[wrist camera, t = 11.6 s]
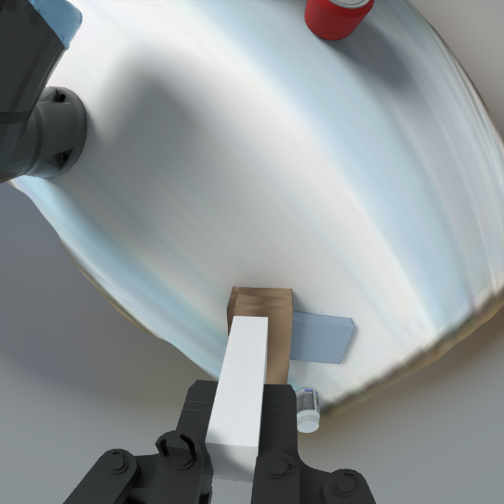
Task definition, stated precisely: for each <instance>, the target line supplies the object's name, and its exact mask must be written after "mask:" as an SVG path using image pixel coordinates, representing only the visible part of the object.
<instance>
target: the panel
mask: <svg viewBox="0 0 504 504" xmlns="http://www.w3.org/2000/svg"><path fill="white" fill-rule="evenodd" d="M353 329H354V325H353V322H352V319H351V318H343V317H335V316H326V315H318V314H311V313H303V312H296V311H293V318H292V331H291V344H290V355H289V359H294V360H303V361H313V362H323V363H335V364H340V362H341V360H342V357H343V355H344V352H345V350H346V347H347V345H348V342H349V340H350V337H351V335H352V332H353Z"/></svg>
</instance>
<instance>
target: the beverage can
mask: <svg viewBox="0 0 504 504" xmlns="http://www.w3.org/2000/svg"><path fill="white" fill-rule="evenodd" d="M373 3H374V0H307V5H306V10H305V22H306V24H307V26H308V28H309V29H310V30H311V31H312V32H313V33H314V34H316V35H317V36H319V37H321V38H324V39H327V40H340V39H343V38H345V37H347V36H348V35H349V34H350V33H351V32H352V31H353V30H354V29H355V28H356V27H357V25H358V24H359V23H360V22H361V21H362V20H363V18H364V17H365V16H366V15H367V13H368V12H369V11H370V10H371V8H372V6H373Z"/></svg>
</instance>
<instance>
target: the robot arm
mask: <svg viewBox="0 0 504 504" xmlns="http://www.w3.org/2000/svg"><path fill="white" fill-rule="evenodd" d="M81 24H82V13H81V12H80V10H79V9H78V8H76V7H75V6H74V5H72V4H71V3H70V2H68V1H67V0H0V183H3V182H5V181H8V180H10V179H13V178H16V177H18V176H22V175H27V176H33V177H40V178H50V177H53V176H57V175H60V174H62V173H64V172H66V171H67V170H68V169H70V168H71V167H72V166H73V165H74V163H75V162H76V161H77V159H78V157H79V156H80V154H81V151H82V149H83V146H84V142H85V137H86V116H85V111H84V108H83V105H82V103H81V101H80V99H79V98H78V97H77V95H76V94H75V93H74V92H72V91H71V90H69V89H67V88H64V87H45V86H46V84H47V82H48V80H49V78H50V77H51V75H52V73H53V71H54V69H55V68H56V66H57V64H58V62H59V61H60V59H61V57H62V56H63V54H64V52H65V51H66V50H68V49H69V44H70V42H71V41H72V39H73V37H74V36H75V34H76V32H77V31H78V29H79V28H80V26H81ZM267 338H268V317H248V316H234V317H233V322H232V326H231V330H230V335H229V339H228V343H227V348H226V352H225V357H224V361H223V365H222V370H221V374H220V378H219V382H215V381H204V380H197V381H196V382H195V383H194V384H193V385H192V386H191V387H190V388H189V390H188V393H187V396H186V401H185V403H184V406H183V410H182V412H181V415H180V418H179V422H178V425H177V428H176V430H174V431H170V432H167V433H164V434H163V435H162V436H160V437H159V438H158V440H157V442H156V443H155V445H156V447H157V449H158V451H159V453H158V454H154V455H143V456H133V455H132V454H131V453H129V452H128V451H126V450H123V449H112V450H109V451H107V452H105V453H104V454H103V455H102V456H101V457H100V458H99V459H98V461H97V462H96V463H95V465H94V466H93V467H92V469H91V470H90V471H89V472H88V473H87V474H86V476H85V477H84V478H83V479H82V481H81V482H80V483H79V484H78V486H77V487H76V488H75V489H74V491H73V492H72V493H71V494H70V496H69V497H68V498H67V499H66V501H65V502H64V503H63V504H210V503H211V497H212V486H211V484H212V479H213V475H214V478H215V479H223V480H233V481H246V482H253V488H252V497H251V504H376V503H375V500H374V498H373V495H372V494H371V491H370V489H369V486H368V484H367V482H366V480H365V479H364V477H363V476H362V475H361V474H360V473H358V472H357V471H355V470H351V469H339V470H336V471H334V472H332V473H329V472H324V471H321V470H317V469H313V468H311V467H309V466H307V465H306V464H305V463H304V462H303V461H302V460H301V459H300V457H299V455H298V450H297V397H296V393H295V391H294V390H293V388H292V386H291V385H284V384H265V382H266V367H267Z"/></svg>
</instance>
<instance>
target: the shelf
mask: <svg viewBox="0 0 504 504" xmlns="http://www.w3.org/2000/svg"><path fill="white" fill-rule="evenodd" d="M234 316H248V317H268V338H267V367H266V382H265V384H284V385H287V377H288V367H289V355H290V344H291V331H292V318H293V303H292V289H274V288H242V287H233V289H232V292H231V296H230V300H229V303H228V307H227V320H228V336H229V335H230V330H231V326H232V322H233V317H234Z"/></svg>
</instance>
